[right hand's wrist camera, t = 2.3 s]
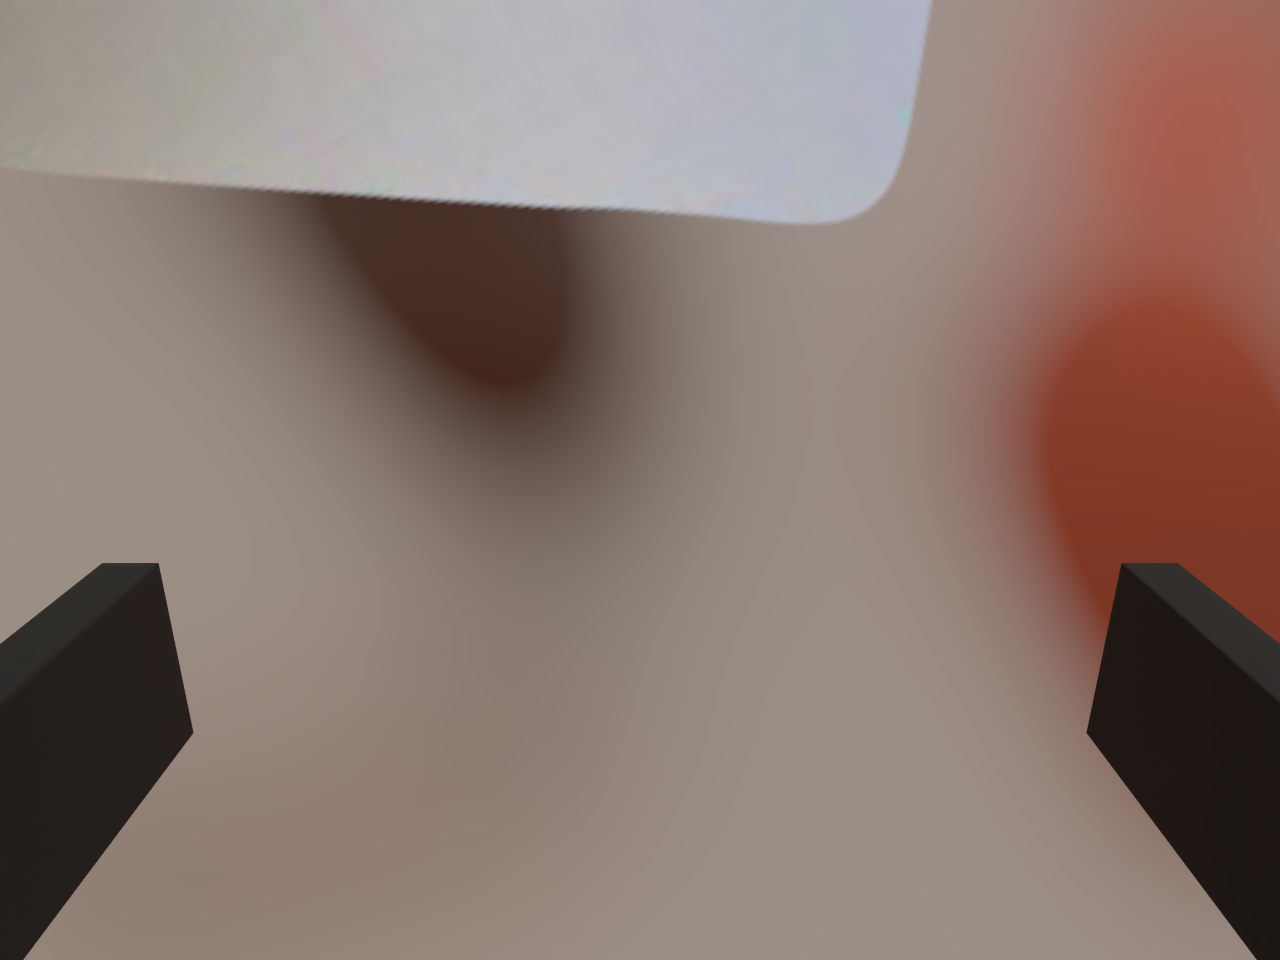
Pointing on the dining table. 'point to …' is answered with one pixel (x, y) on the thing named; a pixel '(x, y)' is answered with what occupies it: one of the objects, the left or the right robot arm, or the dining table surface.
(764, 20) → the dining table surface
